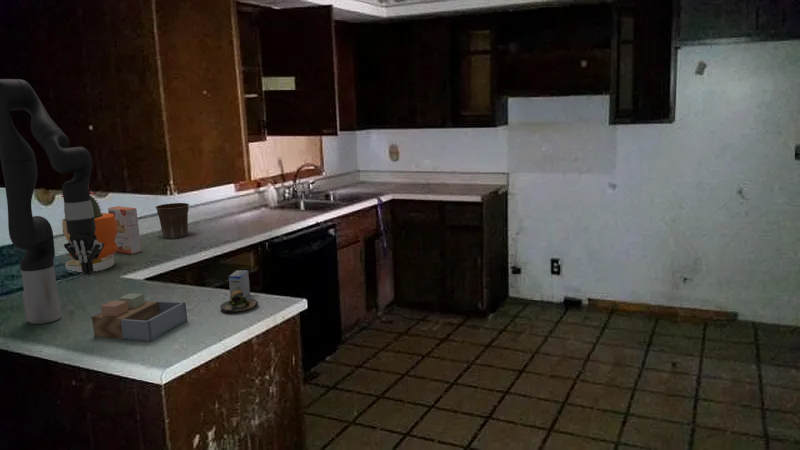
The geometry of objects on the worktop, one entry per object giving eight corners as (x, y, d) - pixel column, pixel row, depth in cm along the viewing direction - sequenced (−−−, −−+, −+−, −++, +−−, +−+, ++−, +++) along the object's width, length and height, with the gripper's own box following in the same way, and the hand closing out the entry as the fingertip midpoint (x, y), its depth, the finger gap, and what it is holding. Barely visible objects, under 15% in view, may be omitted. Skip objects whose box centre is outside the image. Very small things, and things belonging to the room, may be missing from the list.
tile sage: (120, 307, 199) (118, 298, 198) (131, 302, 203) (130, 293, 203) (133, 308, 197) (132, 298, 197) (144, 303, 202) (143, 294, 201)
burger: (222, 317, 205) (220, 294, 204) (218, 307, 216) (216, 285, 214) (261, 311, 209) (259, 289, 208) (255, 301, 220) (253, 280, 219)
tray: (123, 340, 188) (120, 320, 187) (162, 319, 205) (160, 300, 204) (149, 342, 185) (147, 321, 184) (187, 320, 202) (185, 302, 201)
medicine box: (238, 294, 229) (235, 270, 227) (250, 293, 228) (248, 269, 227) (230, 301, 221) (227, 276, 219) (243, 300, 221) (240, 276, 219)
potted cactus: (55, 274, 268) (42, 189, 261) (89, 260, 289) (78, 182, 283) (103, 274, 264) (92, 188, 258) (134, 260, 286) (124, 181, 279)
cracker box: (112, 251, 305) (107, 207, 301) (124, 249, 310) (119, 205, 306) (130, 254, 298) (124, 209, 294) (142, 252, 302) (136, 207, 298)
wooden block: (94, 336, 192) (91, 316, 191) (131, 318, 207) (128, 300, 206) (125, 338, 189) (123, 318, 188) (160, 320, 204) (158, 301, 203)
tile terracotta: (102, 315, 192) (101, 305, 191) (114, 310, 196) (113, 300, 196) (116, 316, 190) (115, 306, 190) (128, 311, 195) (127, 301, 194)
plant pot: (192, 237, 330) (189, 206, 327) (158, 241, 325) (154, 209, 322) (192, 232, 345) (188, 201, 342) (159, 235, 340) (156, 204, 337)
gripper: (51, 218, 189) (60, 276, 192) (88, 219, 185) (97, 278, 188) (71, 214, 196) (79, 270, 199) (107, 214, 192) (115, 271, 195)
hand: (88, 274), depth 194 cm, fingers closed
